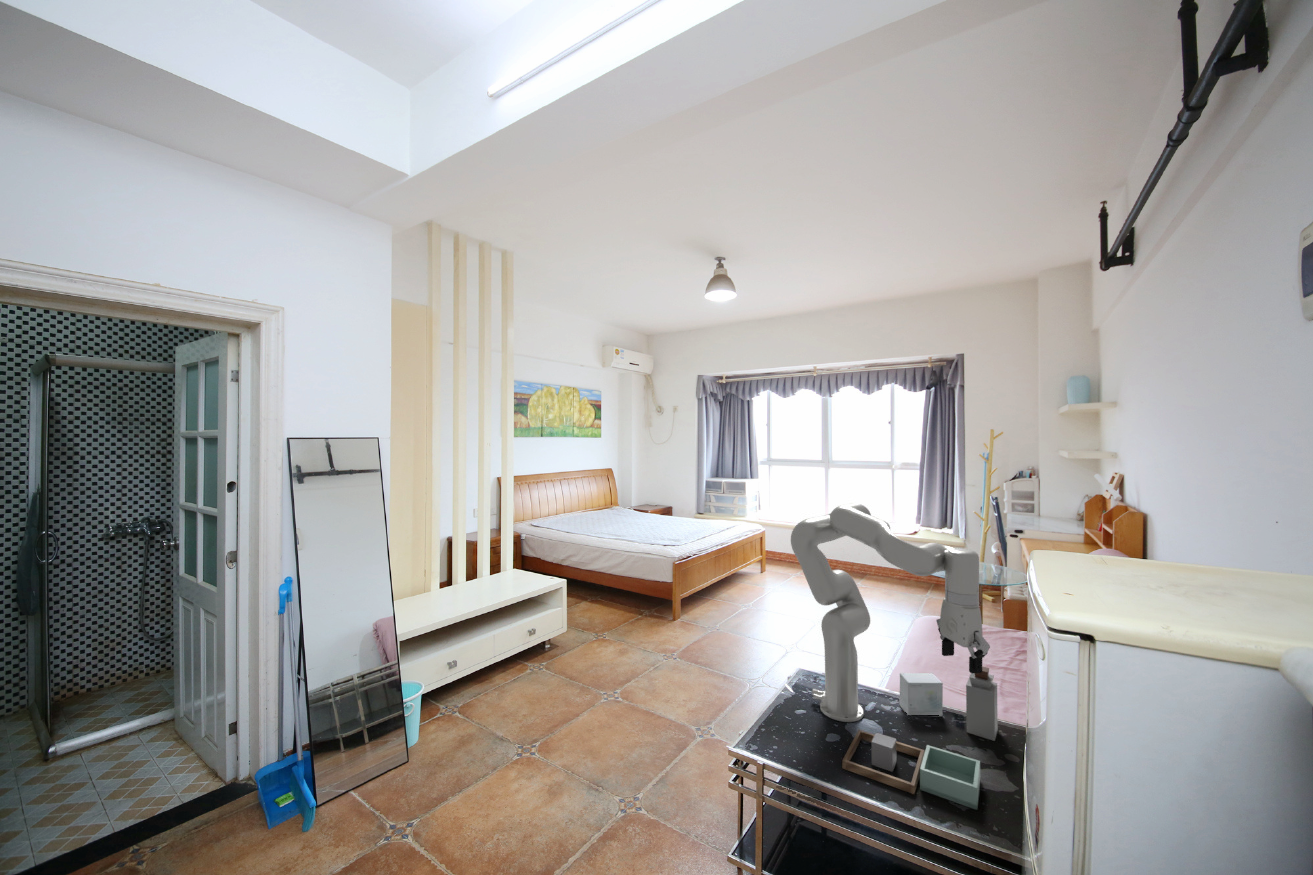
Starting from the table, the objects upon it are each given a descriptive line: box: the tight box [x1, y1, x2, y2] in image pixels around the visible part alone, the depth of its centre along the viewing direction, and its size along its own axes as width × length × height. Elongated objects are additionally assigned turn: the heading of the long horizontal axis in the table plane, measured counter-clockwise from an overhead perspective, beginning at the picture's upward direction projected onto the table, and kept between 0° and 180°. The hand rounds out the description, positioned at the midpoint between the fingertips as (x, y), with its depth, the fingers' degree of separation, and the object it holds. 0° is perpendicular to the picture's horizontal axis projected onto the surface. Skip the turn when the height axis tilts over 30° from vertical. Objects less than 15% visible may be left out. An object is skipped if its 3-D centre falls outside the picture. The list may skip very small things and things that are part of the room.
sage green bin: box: [919, 744, 981, 811], centre depth 123 cm, size 12×12×5 cm
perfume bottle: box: [965, 666, 999, 742], centre depth 145 cm, size 7×7×18 cm
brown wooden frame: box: [841, 729, 926, 795], centre depth 132 cm, size 17×17×2 cm
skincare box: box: [899, 672, 944, 717], centre depth 156 cm, size 10×6×10 cm, turn 88°
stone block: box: [871, 732, 897, 773], centre depth 132 cm, size 5×5×6 cm
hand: (961, 663), depth 131 cm, fingers open, 9 cm apart
